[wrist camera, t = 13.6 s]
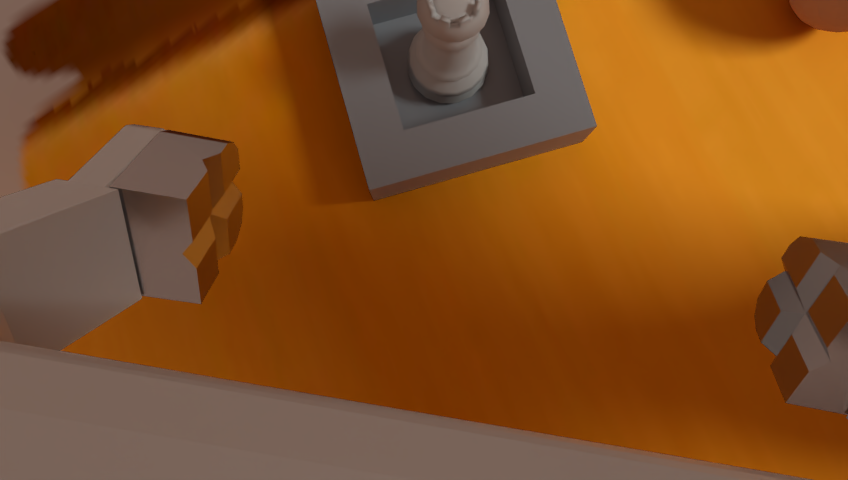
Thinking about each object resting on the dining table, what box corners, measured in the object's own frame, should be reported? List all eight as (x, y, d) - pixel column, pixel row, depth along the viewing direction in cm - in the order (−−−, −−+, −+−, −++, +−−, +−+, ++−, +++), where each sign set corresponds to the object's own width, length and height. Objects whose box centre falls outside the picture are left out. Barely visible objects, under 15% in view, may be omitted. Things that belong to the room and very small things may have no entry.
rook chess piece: (495, 97, 35) (517, 34, 27) (416, 114, 35) (415, 56, 27) (477, 21, 36) (492, -62, 28) (399, 38, 36) (392, -41, 28)
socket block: (519, -54, 37) (527, -87, 34) (582, 141, 35) (596, 126, 32) (317, 0, 36) (308, -28, 33) (373, 200, 35) (369, 190, 32)
